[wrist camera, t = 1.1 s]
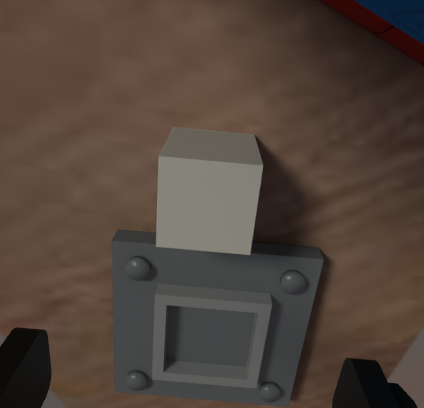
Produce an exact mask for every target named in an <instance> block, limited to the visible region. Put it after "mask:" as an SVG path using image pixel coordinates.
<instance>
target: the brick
mask: <svg viewBox="0 0 424 408" xmlns="http://www.w3.org/2000/svg"><path fill="white" fill-rule="evenodd" d="M262 171H263V163H262V159H261V156H260V152H259V149H258V146H257V142H256V139H255V135H254V134H243V133H233V132H222V131H211V130H201V129H190V128H179V127H173V129H172V131H171V133H170V135H169V137H168V139H167V141H166V143H165V145H164V147H163V149H162V151H161V153H160V155H159V166H158V196H157V227H156V247H165V248H176V249H187V250H198V251H210V252H221V253H232V254H243V255H250V252H251V245H252V238H253V232H254V225H255V218H256V211H257V205H258V198H259V191H260V185H261V178H262Z"/></svg>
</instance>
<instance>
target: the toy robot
mask: <svg viewBox="0 0 424 408" xmlns="http://www.w3.org/2000/svg"><path fill="white" fill-rule="evenodd" d="M320 1H322V2H323V3H325V4H327V5H328V6H330V7H331V8H333V9H335V10H336V11H338V12H339V13H341V14H343V15H344V16H346V17H347V18H349V19H351V20H352V21H354V22H355V23H357V24H359V25H360V26H362V27H363V28H365V29H367V30H368V31H370V32H372V33H373V34H375V35H376V36H378V37H380V38H381V39H383V40H384V41H386V42H388V43H389V44H391V45H392V46H394V47H396V48H397V49H399V50H400V51H402V52H404V53H405V54H407V55H408V56H410V57H412V58H413V59H415V60H417V61H418V62H420V63H421V64H423V65H424V0H320Z"/></svg>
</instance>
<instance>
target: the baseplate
mask: <svg viewBox="0 0 424 408" xmlns="http://www.w3.org/2000/svg"><path fill="white" fill-rule="evenodd" d="M323 261H324V259H323V256H322V254H321V252H320V249H319V248H315V247H304V246H293V245H282V244H271V243H259V242H252V245H251V252H250V255H243V254H232V253H221V252H210V251H198V250H187V249H176V248H165V247H156V233H149V232H138V231H127V230H117V232H116V234H115V236H114V237H113V239H112V269H113V319H114V370H115V392H123V393H135V394H146V395H158V396H170V397H181V398H193V399H205V400H216V401H228V402H239V403H251V404H263V405H274V406H286V407H288V405H289V401H290V397H291V393H292V389H293V385H294V381H295V377H296V372H297V368H298V364H299V360H300V356H301V352H302V348H303V344H304V339H305V335H306V331H307V327H308V323H309V319H310V315H311V311H312V306H313V302H314V298H315V294H316V290H317V286H318V282H319V278H320V273H321V269H322V265H323Z"/></svg>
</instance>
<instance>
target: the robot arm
mask: <svg viewBox="0 0 424 408" xmlns="http://www.w3.org/2000/svg"><path fill="white" fill-rule="evenodd" d="M50 382H51V362H50V353H49V344H48V335H47V332H46V331H45V330H40V329H29V328H18V327H17V328H14V329H13V330H12V331H11V332H10V334H9V335H8V337H7V338H6V339H5V341H4V342H3V344H2V345H1V346H0V408H41V406H42V404H43V402H44V400H45V398H46V395H47V393H48V390H49V386H50ZM332 408H417V406H416V404H415V402H414V401H413V400H412V399H411V397H410V396H409V395H408V394H407V393H406V392H405V391H404V390H403V389H402V388H401V387H400V386H399V385H398V384H396V383H388V382H387V380H386V378H385V375H384V373H383V371H382V369H381V367H380V365H379V363H378V362H377V361H375V360H364V359H353V358H347V359H345V361H344V363H343V367H342V370H341V373H340V377H339V380H338V383H337V387H336V390H335V393H334V397H333V403H332Z"/></svg>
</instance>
